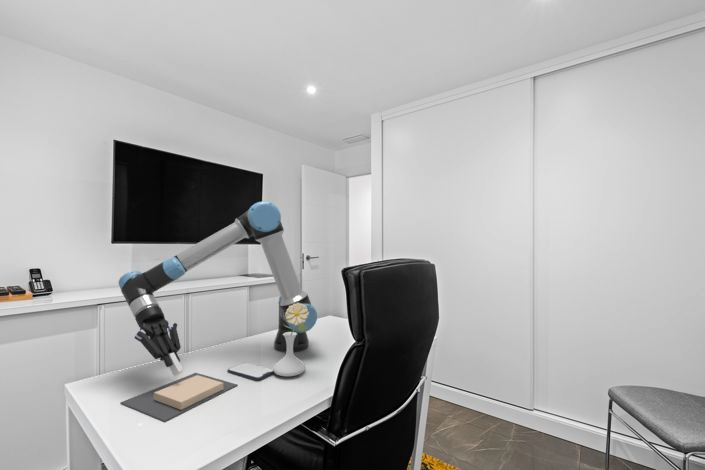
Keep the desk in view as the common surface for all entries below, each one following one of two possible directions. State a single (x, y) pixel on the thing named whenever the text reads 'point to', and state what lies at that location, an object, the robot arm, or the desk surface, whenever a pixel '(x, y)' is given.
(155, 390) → the mat
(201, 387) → the tile
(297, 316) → the flower in vase
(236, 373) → the smartphone
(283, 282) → the robot arm
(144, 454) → the desk surface
